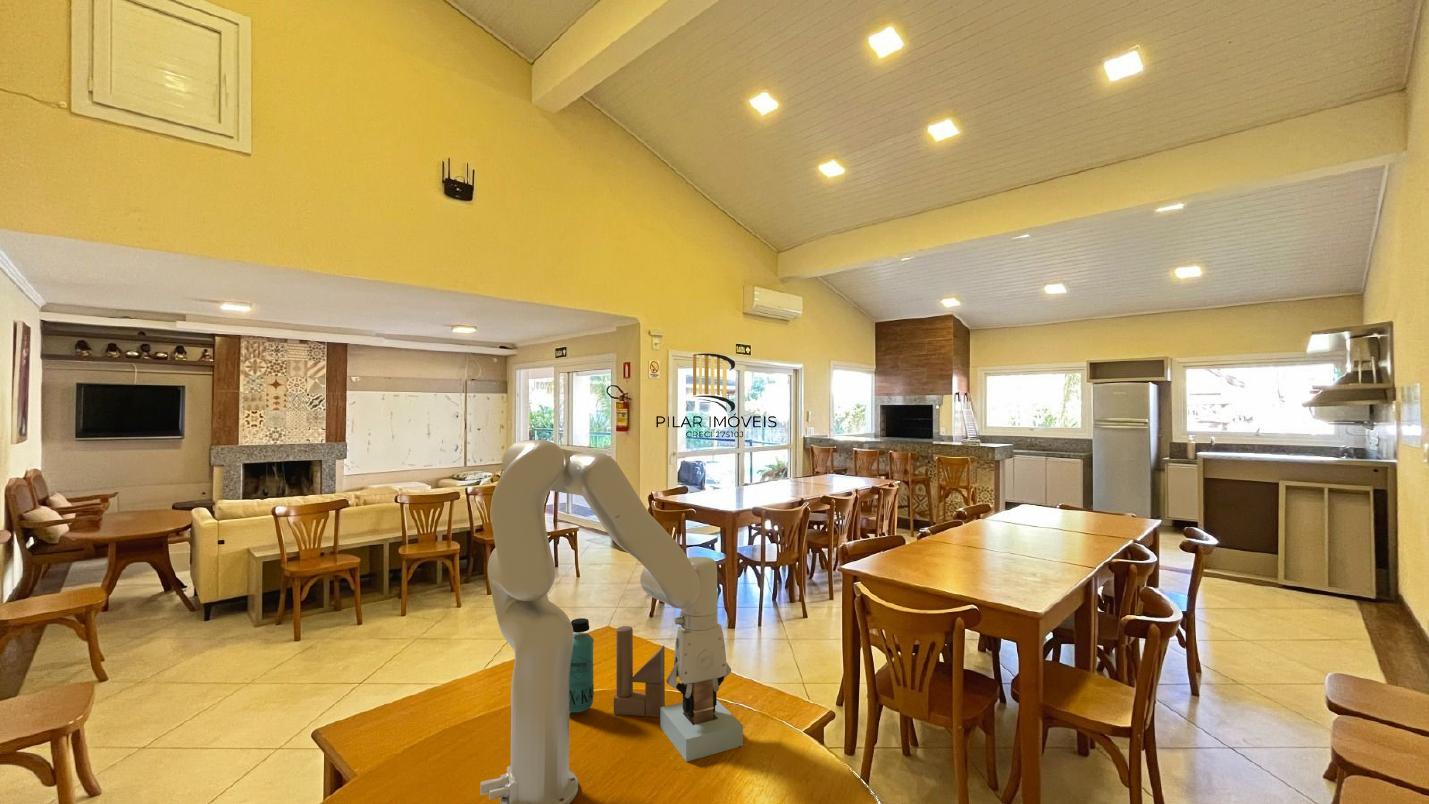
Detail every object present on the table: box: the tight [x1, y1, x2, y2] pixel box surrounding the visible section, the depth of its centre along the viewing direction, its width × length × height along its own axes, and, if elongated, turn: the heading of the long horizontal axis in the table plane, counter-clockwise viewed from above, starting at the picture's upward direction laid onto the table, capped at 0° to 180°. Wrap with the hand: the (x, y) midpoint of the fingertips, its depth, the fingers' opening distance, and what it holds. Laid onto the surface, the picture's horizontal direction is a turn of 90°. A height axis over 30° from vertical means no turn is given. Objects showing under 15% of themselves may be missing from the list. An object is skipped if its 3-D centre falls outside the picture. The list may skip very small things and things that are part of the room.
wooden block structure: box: [613, 625, 666, 719], centre depth 123 cm, size 4×11×18 cm, turn 81°
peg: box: [687, 679, 714, 725], centre depth 113 cm, size 4×4×10 cm
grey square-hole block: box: [659, 699, 744, 762], centre depth 113 cm, size 12×14×4 cm
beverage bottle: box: [569, 617, 595, 713], centre depth 123 cm, size 6×7×20 cm
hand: (699, 711), depth 113 cm, fingers closed on peg, 4 cm apart
